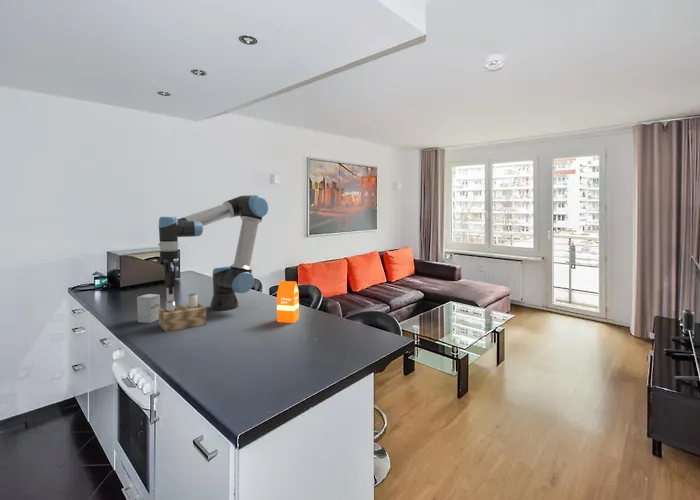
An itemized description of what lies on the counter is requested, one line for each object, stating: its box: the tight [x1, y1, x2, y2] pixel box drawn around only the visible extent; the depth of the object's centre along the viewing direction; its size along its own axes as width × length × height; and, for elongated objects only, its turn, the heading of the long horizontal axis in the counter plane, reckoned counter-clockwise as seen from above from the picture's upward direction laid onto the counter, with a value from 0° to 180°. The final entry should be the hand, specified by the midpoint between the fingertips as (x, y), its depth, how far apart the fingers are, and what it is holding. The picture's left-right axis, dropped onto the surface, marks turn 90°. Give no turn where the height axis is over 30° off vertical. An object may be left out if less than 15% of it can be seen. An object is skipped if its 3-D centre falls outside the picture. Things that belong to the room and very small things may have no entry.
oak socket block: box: [158, 303, 207, 333], centre depth 174 cm, size 18×12×8 cm, turn 129°
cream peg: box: [188, 292, 199, 309], centre depth 177 cm, size 4×4×8 cm
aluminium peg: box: [165, 300, 177, 312], centre depth 171 cm, size 4×4×8 cm
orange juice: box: [276, 280, 300, 324], centre depth 184 cm, size 8×9×20 cm
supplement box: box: [136, 293, 161, 324], centre depth 180 cm, size 7×7×13 cm
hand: (170, 300), depth 170 cm, fingers closed
